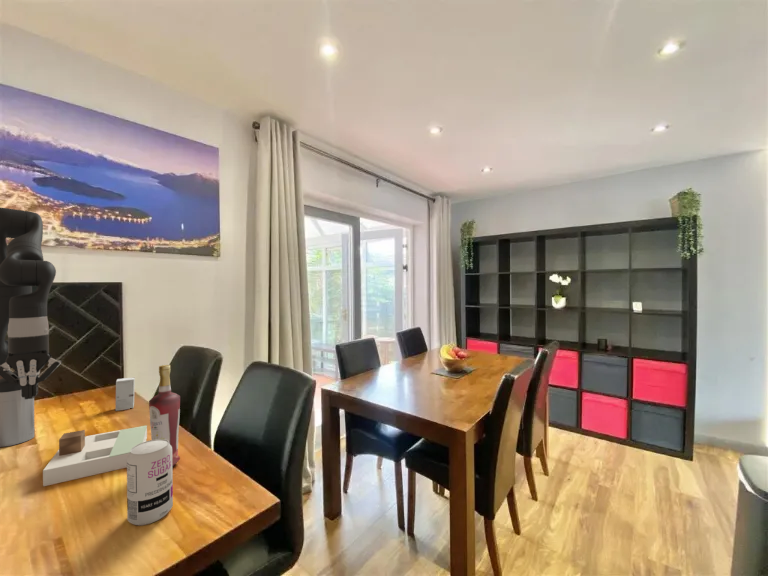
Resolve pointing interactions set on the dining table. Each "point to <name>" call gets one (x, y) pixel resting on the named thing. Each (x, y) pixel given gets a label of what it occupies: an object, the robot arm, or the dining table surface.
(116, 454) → the trap plank
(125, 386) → the skincare box
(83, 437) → the walnut block
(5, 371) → the robot arm
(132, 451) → the supplement can
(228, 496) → the dining table surface
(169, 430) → the liquor
